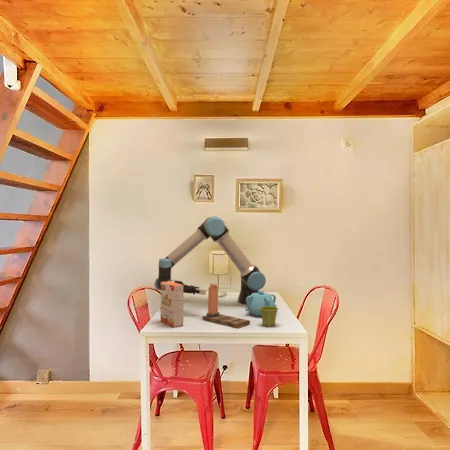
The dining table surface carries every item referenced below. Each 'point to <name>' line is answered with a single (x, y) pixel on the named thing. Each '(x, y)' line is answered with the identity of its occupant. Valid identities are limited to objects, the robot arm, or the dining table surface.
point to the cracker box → (172, 303)
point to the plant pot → (268, 315)
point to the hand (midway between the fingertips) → (204, 292)
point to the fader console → (227, 320)
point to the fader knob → (213, 300)
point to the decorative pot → (259, 302)
